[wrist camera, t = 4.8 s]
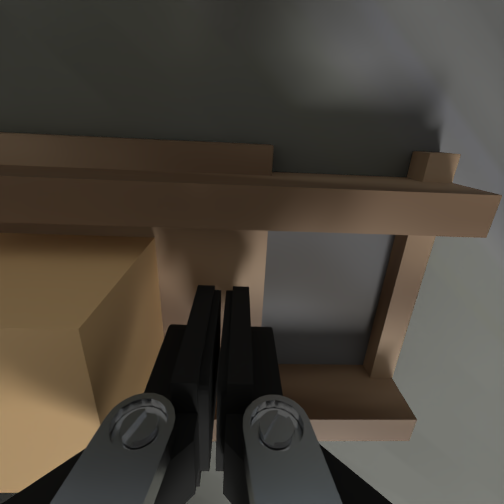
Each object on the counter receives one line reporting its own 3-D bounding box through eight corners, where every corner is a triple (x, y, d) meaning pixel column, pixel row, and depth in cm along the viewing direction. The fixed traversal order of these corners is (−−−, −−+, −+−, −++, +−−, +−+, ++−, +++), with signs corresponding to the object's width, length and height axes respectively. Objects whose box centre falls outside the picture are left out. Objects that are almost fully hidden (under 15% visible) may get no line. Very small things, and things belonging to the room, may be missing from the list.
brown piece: (372, 394, 15) (403, 455, 12) (-85, 391, 14) (-169, 458, 11) (440, 152, 10) (515, 160, 7) (-234, 121, 9) (-442, 117, 6)
